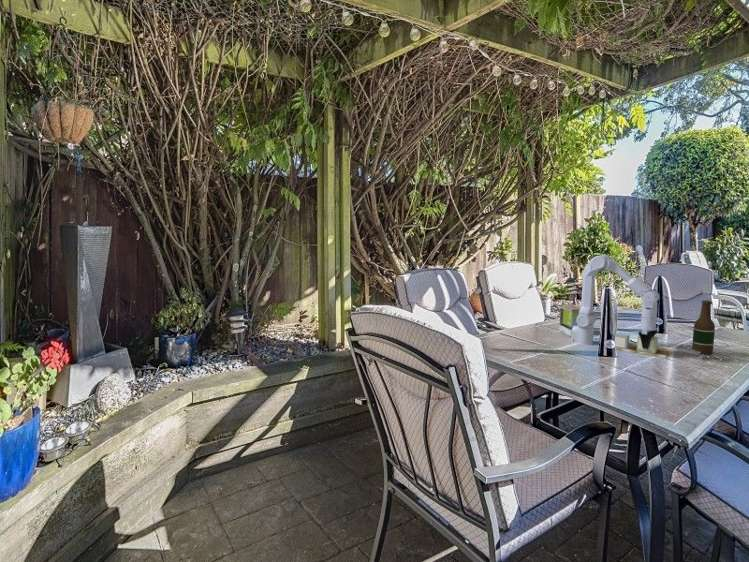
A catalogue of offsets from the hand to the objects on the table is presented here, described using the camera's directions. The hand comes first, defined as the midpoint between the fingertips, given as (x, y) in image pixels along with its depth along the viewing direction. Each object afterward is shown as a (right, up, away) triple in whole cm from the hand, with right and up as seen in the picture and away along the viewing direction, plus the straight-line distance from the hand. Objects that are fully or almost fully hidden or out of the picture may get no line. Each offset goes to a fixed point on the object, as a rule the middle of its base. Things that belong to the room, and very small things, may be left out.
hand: (646, 347), depth 200 cm
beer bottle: (+28, -3, +5) cm, 29 cm away
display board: (+1, -3, +7) cm, 7 cm away
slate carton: (-8, -2, +8) cm, 11 cm away
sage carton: (0, -2, 0) cm, 2 cm away
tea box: (-14, +1, +41) cm, 44 cm away
